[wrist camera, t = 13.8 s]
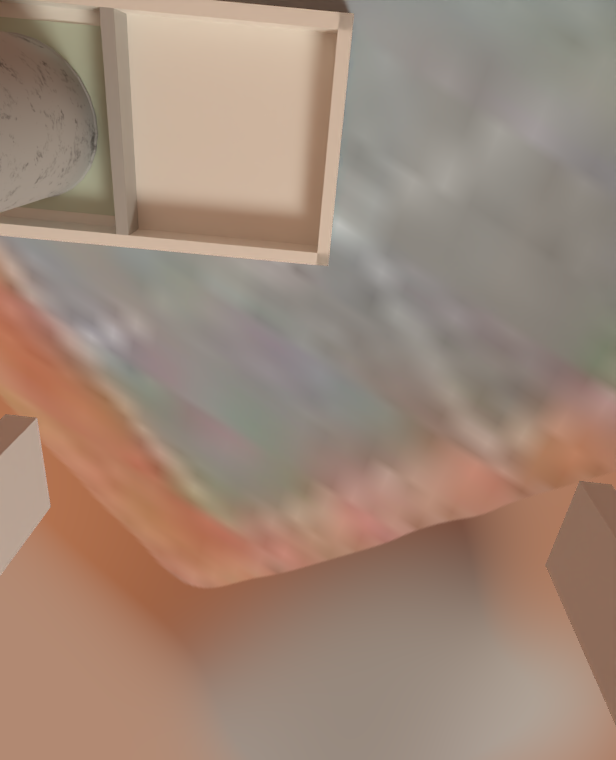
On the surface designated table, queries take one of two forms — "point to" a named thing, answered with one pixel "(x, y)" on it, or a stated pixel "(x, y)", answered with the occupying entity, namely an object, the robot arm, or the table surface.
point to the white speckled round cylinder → (41, 123)
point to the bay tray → (198, 125)
